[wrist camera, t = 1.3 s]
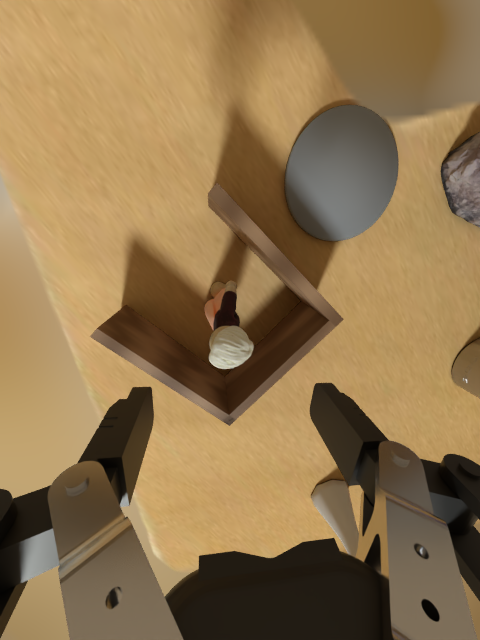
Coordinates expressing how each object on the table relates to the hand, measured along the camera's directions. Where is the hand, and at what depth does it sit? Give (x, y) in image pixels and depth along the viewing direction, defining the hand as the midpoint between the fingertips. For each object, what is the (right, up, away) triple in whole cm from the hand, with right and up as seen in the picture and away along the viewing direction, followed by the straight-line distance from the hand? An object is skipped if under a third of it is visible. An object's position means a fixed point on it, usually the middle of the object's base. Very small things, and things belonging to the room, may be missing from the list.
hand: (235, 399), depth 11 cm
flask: (+17, -28, +31) cm, 44 cm away
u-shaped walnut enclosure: (-2, +6, +16) cm, 17 cm away
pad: (+11, +19, +13) cm, 25 cm away
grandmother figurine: (-2, +6, +16) cm, 17 cm away
